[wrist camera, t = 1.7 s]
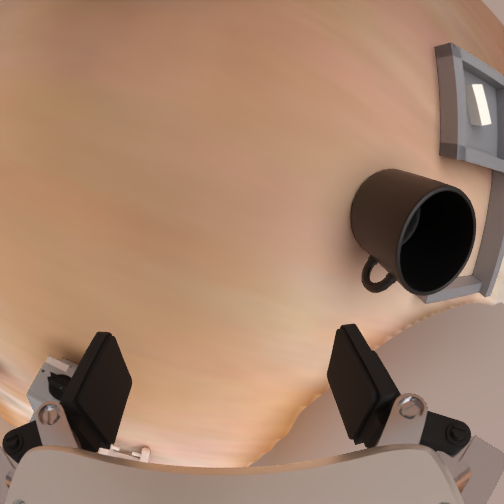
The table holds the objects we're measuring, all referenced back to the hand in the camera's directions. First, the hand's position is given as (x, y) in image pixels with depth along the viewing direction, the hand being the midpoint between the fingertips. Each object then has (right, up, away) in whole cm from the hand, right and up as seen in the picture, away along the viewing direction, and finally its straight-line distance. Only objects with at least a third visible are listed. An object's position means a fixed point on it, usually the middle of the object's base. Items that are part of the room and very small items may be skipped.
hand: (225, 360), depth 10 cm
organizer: (+29, +14, +14) cm, 35 cm away
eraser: (+27, +22, +10) cm, 37 cm away
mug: (+15, +8, +16) cm, 23 cm away
